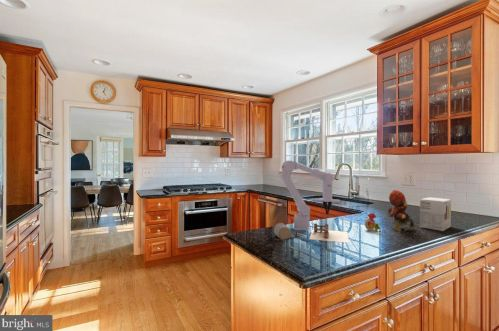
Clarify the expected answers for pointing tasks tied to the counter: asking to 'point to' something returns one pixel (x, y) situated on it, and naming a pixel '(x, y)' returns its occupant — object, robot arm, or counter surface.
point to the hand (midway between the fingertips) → (327, 214)
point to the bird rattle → (371, 222)
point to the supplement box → (435, 213)
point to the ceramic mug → (283, 231)
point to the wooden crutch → (325, 233)
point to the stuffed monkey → (399, 210)
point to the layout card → (330, 236)
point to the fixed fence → (320, 227)
